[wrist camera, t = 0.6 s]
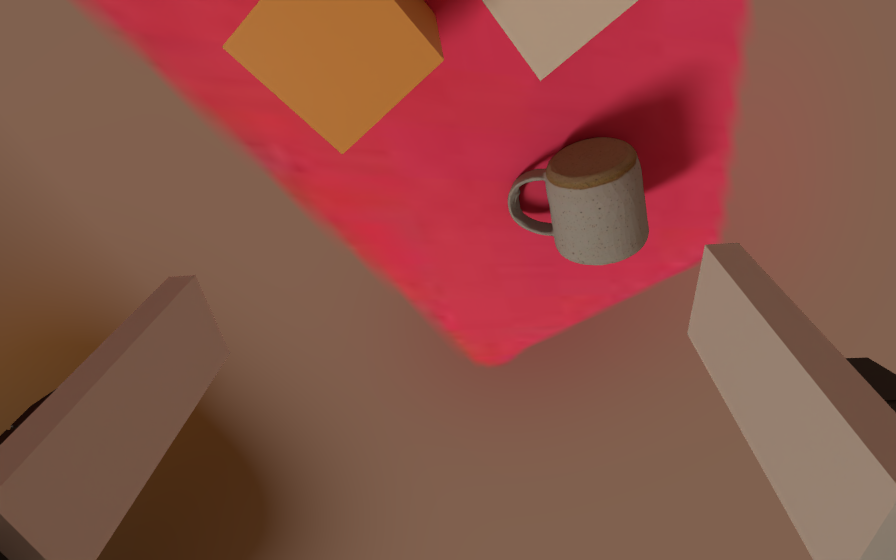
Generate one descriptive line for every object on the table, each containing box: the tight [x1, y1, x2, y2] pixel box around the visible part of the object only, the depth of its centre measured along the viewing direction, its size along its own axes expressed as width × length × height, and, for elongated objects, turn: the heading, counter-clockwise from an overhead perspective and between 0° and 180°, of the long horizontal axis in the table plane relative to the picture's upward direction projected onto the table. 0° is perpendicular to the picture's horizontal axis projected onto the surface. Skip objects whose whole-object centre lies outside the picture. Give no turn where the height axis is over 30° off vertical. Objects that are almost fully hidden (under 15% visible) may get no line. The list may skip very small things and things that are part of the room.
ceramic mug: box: [508, 137, 649, 265], centre depth 40 cm, size 11×8×8 cm
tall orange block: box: [222, 0, 444, 154], centre depth 29 cm, size 8×8×10 cm
